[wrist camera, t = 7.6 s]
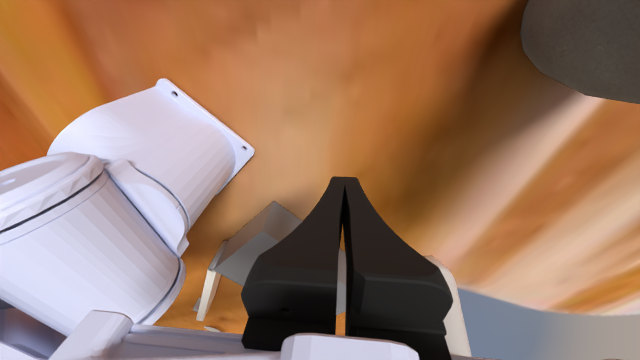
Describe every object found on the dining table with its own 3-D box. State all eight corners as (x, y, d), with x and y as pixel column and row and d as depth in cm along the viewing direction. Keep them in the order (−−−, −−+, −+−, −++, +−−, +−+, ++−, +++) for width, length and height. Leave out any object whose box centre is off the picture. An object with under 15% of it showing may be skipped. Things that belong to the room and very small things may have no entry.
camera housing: (228, 240, 31) (209, 276, 26) (273, 200, 26) (259, 237, 22) (316, 293, 36) (312, 330, 32) (367, 268, 31) (370, 308, 27)
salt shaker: (430, 282, 32) (472, 414, 21) (392, 272, 31) (415, 401, 21) (456, 257, 29) (522, 399, 18) (414, 245, 28) (456, 384, 17)
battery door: (215, 236, 30) (200, 263, 27) (230, 241, 30) (217, 268, 27) (202, 292, 39) (189, 317, 35) (214, 296, 39) (202, 321, 36)
